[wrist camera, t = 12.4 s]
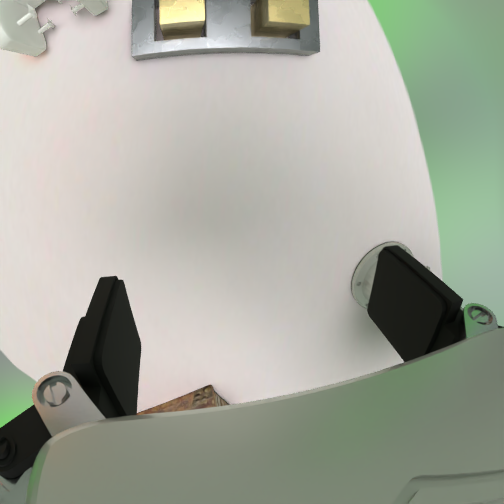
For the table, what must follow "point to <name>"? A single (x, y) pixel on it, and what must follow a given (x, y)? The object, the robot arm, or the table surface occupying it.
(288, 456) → the robot arm
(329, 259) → the table surface
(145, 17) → the peg holder block
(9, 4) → the cable organizer
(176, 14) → the brass square peg
